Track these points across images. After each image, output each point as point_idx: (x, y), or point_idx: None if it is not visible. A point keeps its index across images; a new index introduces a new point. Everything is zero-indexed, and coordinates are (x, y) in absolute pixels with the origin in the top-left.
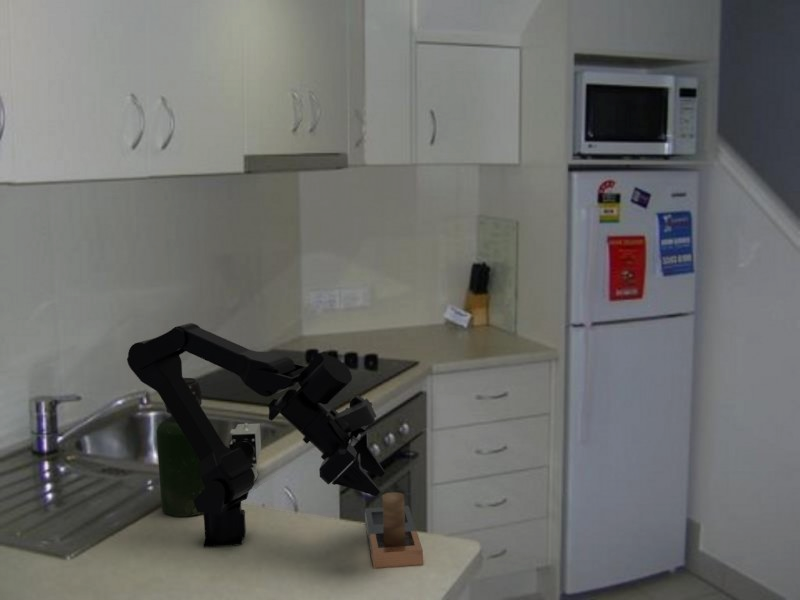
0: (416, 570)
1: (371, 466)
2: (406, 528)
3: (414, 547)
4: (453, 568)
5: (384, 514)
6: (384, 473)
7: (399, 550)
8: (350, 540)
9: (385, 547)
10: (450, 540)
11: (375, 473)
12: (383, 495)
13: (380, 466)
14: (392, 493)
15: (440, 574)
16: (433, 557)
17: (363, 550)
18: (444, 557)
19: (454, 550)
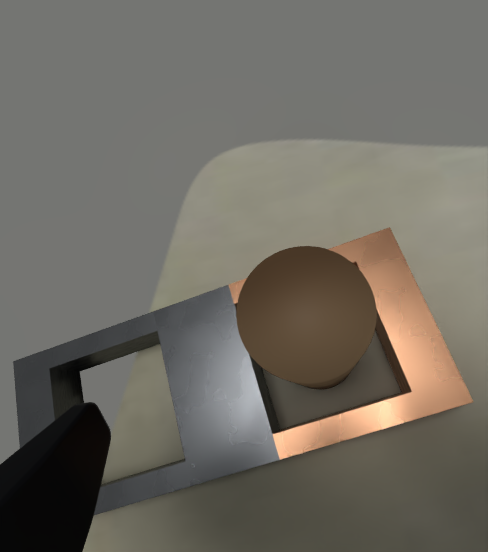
0: (429, 256)
1: (43, 549)
2: (210, 324)
3: (374, 258)
4: (386, 162)
5: (351, 369)
6: (93, 404)
7: (414, 304)
8: (226, 547)
9: (400, 363)
10: (196, 212)
11: (93, 487)
12: (301, 377)
13: (47, 446)
14: (257, 326)
15: (438, 184)
16: (321, 230)
17: (308, 473)
18: (315, 201)
19: (263, 187)
